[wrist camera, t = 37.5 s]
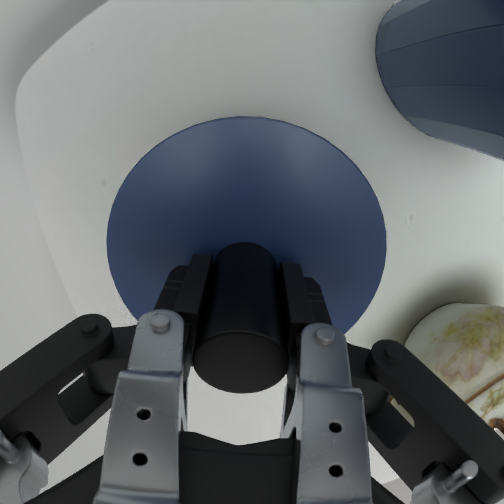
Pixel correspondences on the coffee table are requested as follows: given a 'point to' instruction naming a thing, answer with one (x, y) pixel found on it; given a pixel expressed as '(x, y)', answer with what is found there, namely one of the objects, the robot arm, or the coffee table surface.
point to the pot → (447, 69)
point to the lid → (247, 237)
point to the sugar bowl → (464, 356)
